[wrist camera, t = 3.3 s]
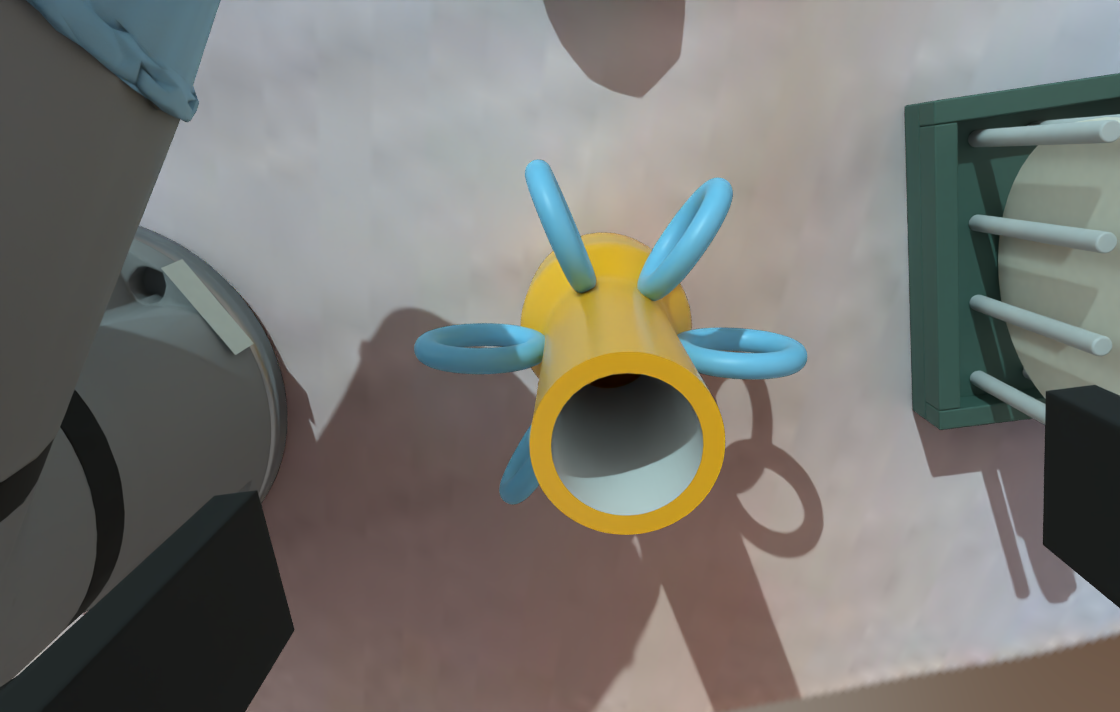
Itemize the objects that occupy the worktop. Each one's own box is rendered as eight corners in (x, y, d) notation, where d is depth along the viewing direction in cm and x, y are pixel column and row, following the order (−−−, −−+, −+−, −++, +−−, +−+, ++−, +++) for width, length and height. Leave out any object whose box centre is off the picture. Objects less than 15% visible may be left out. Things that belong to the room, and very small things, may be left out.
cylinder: (623, 491, 32) (664, 770, 17) (413, 361, 30) (266, 542, 16) (801, 251, 29) (1027, 343, 15) (579, 97, 28) (583, 27, 13)
